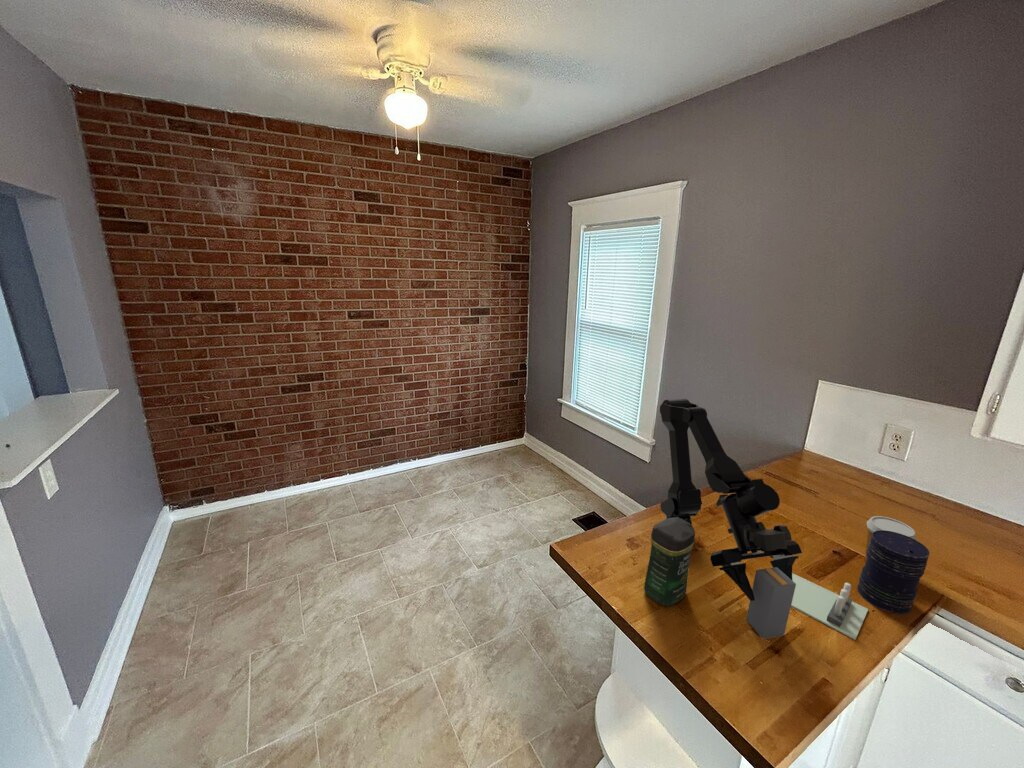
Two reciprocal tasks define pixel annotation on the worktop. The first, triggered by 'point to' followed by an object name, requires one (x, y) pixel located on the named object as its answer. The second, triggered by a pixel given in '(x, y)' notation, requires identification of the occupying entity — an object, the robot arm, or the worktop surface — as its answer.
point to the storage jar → (892, 571)
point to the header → (829, 606)
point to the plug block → (770, 602)
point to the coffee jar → (669, 560)
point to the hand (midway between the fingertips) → (772, 597)
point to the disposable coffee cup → (887, 528)
